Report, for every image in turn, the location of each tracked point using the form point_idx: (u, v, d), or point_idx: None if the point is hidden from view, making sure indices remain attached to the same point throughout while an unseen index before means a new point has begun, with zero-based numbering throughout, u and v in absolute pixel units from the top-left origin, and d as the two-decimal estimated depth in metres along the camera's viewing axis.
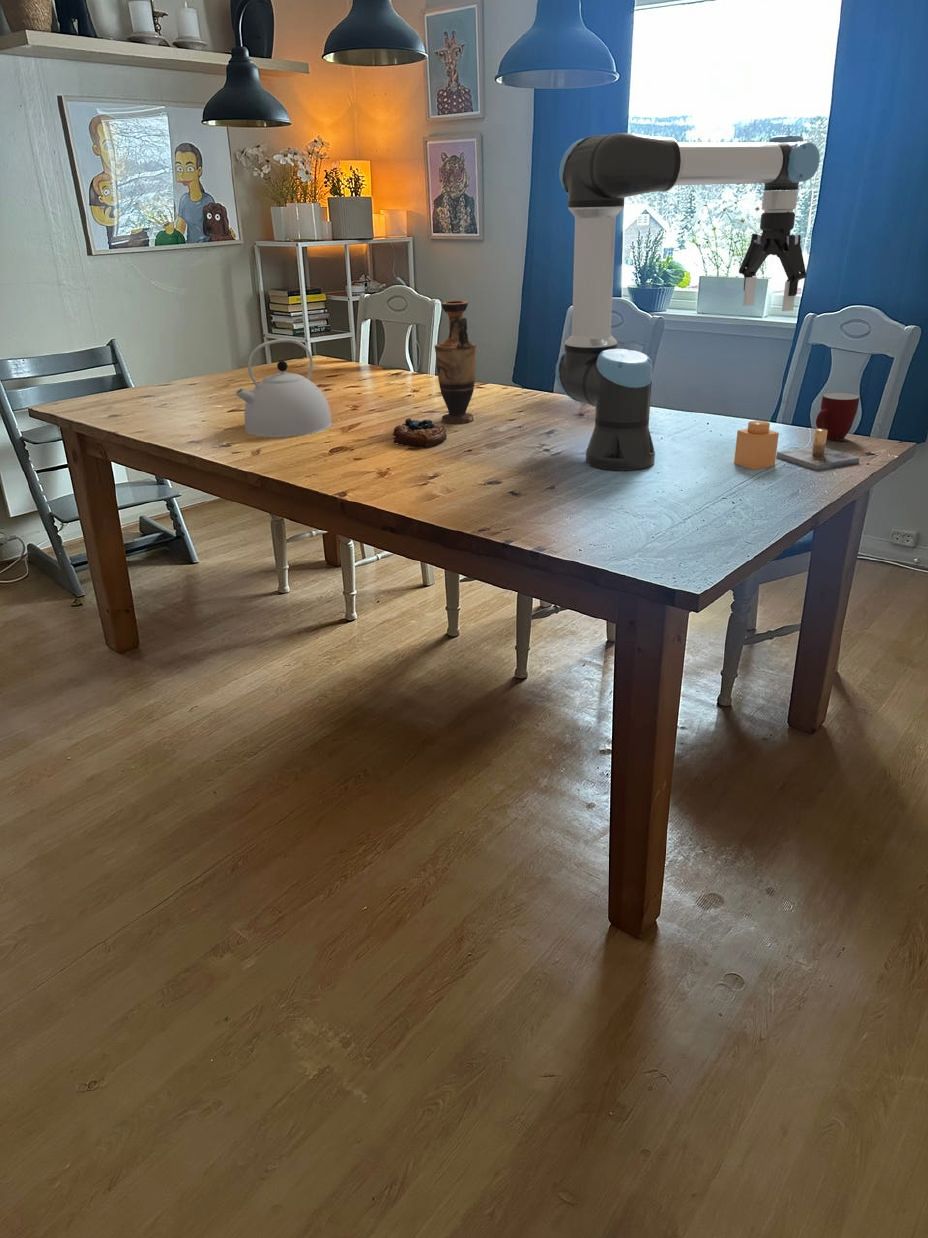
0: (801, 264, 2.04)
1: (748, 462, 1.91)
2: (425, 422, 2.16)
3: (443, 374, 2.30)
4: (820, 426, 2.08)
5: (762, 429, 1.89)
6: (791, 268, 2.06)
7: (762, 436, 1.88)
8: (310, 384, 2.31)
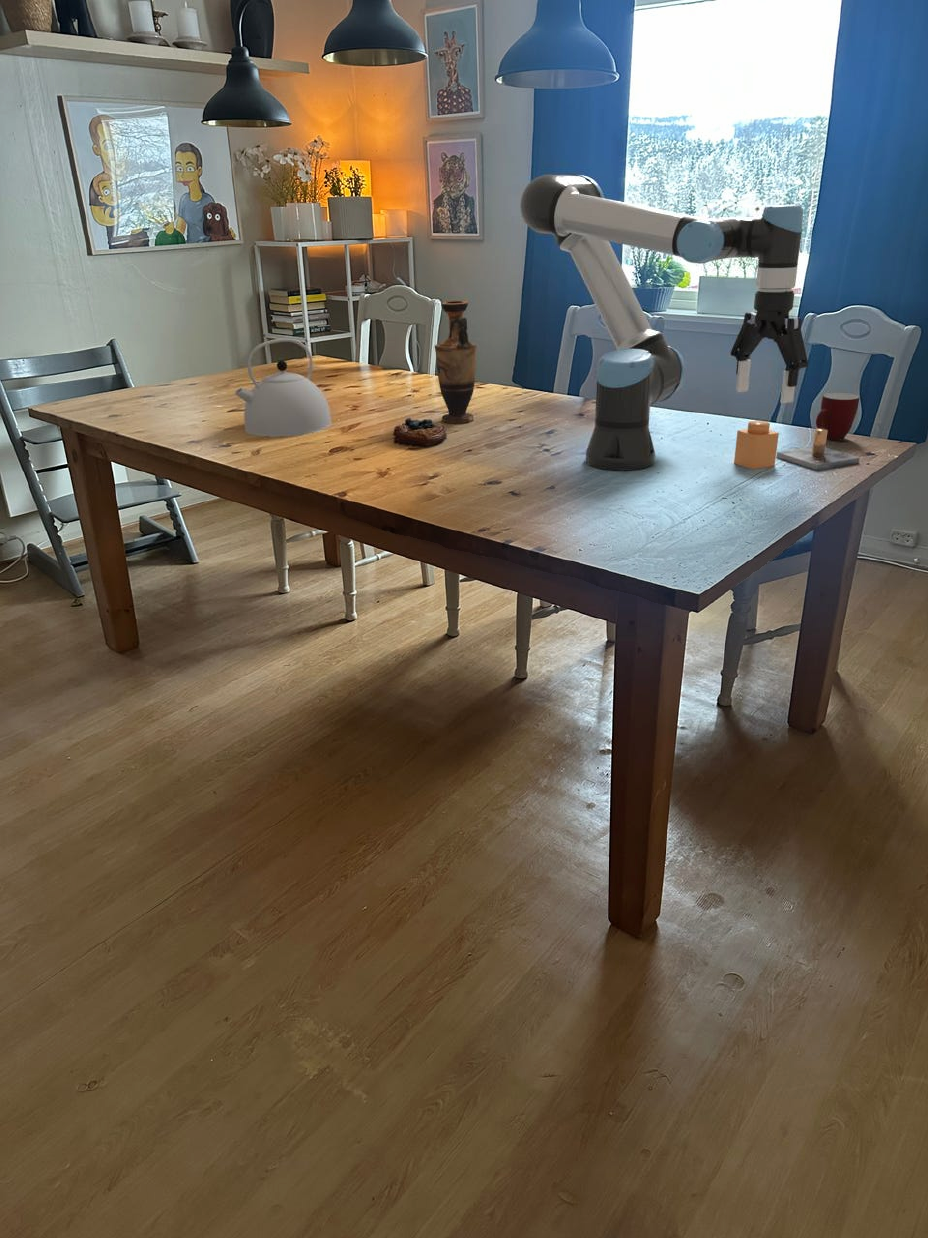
0: (801, 351, 1.76)
1: (748, 462, 1.91)
2: (425, 422, 2.16)
3: (443, 374, 2.30)
4: (820, 426, 2.08)
5: (762, 429, 1.89)
6: (790, 355, 1.78)
7: (762, 436, 1.88)
8: (309, 384, 2.31)
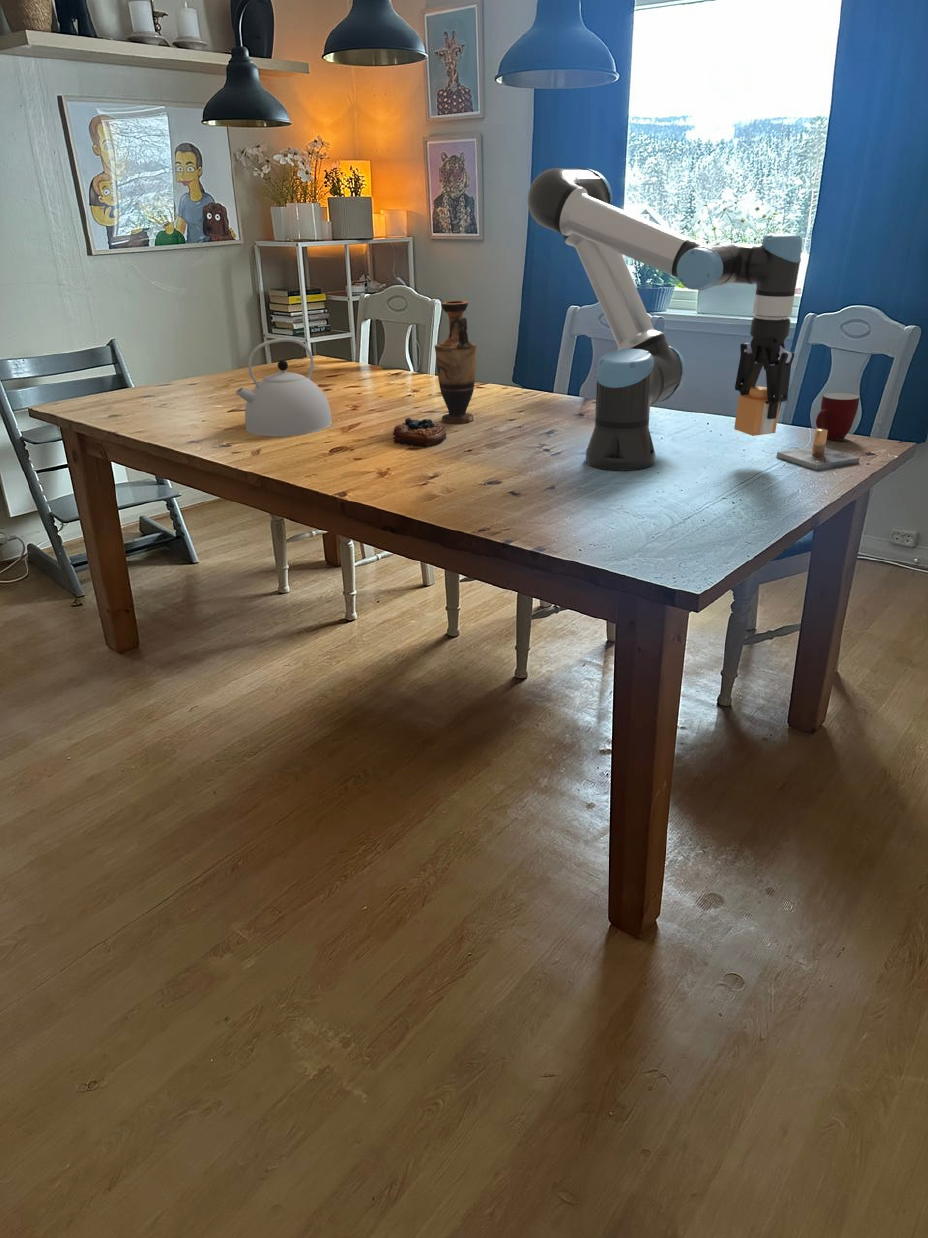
0: (785, 387, 1.82)
1: (749, 428, 1.89)
2: (425, 421, 2.17)
3: (443, 374, 2.30)
4: (820, 426, 2.08)
5: (764, 395, 1.86)
6: (774, 388, 1.84)
7: (764, 402, 1.86)
8: (310, 383, 2.32)
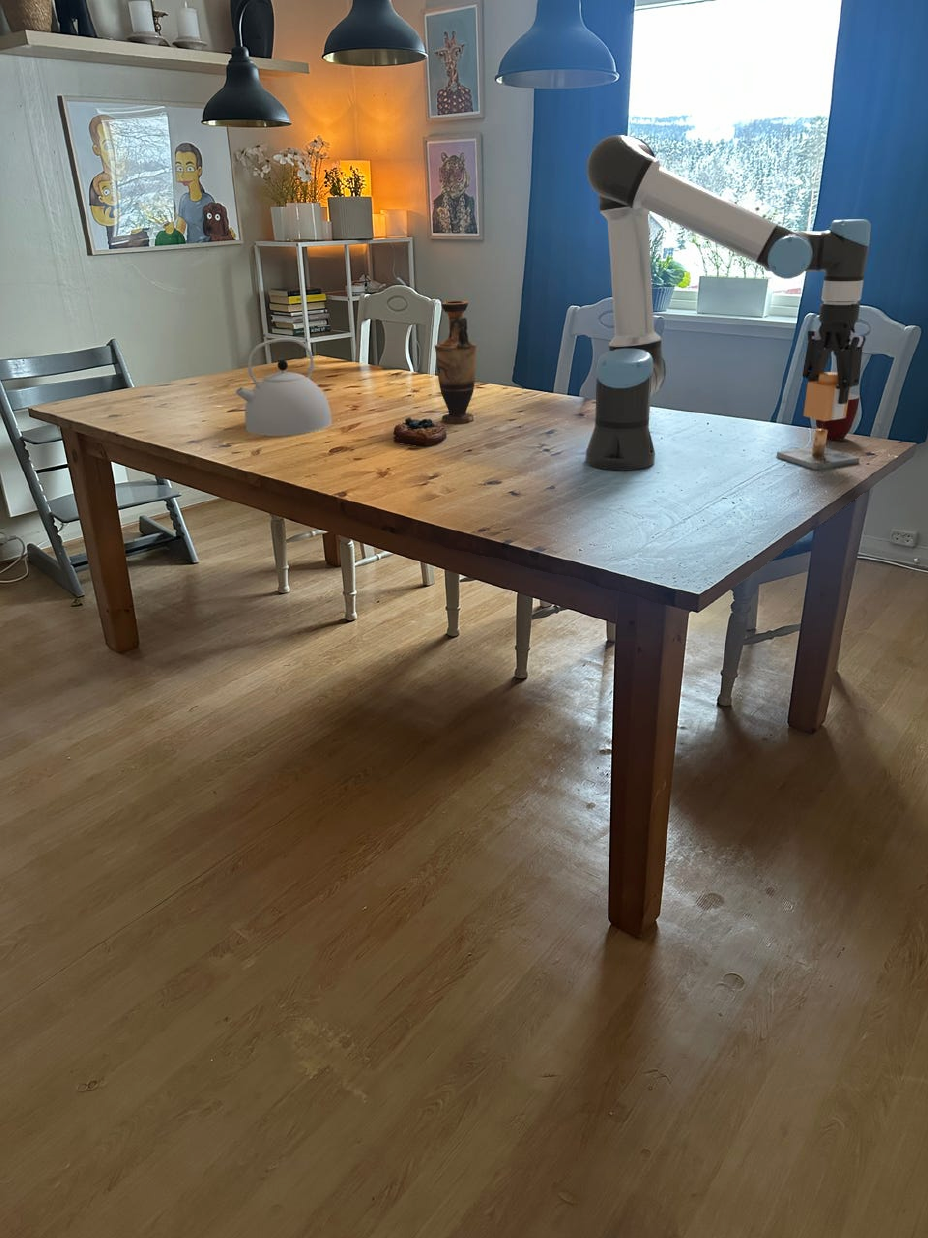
0: (856, 371, 1.82)
1: (820, 413, 1.89)
2: (425, 421, 2.17)
3: (443, 374, 2.30)
4: (820, 426, 2.08)
5: (834, 380, 1.87)
6: (845, 373, 1.84)
7: (834, 386, 1.86)
8: (310, 383, 2.32)
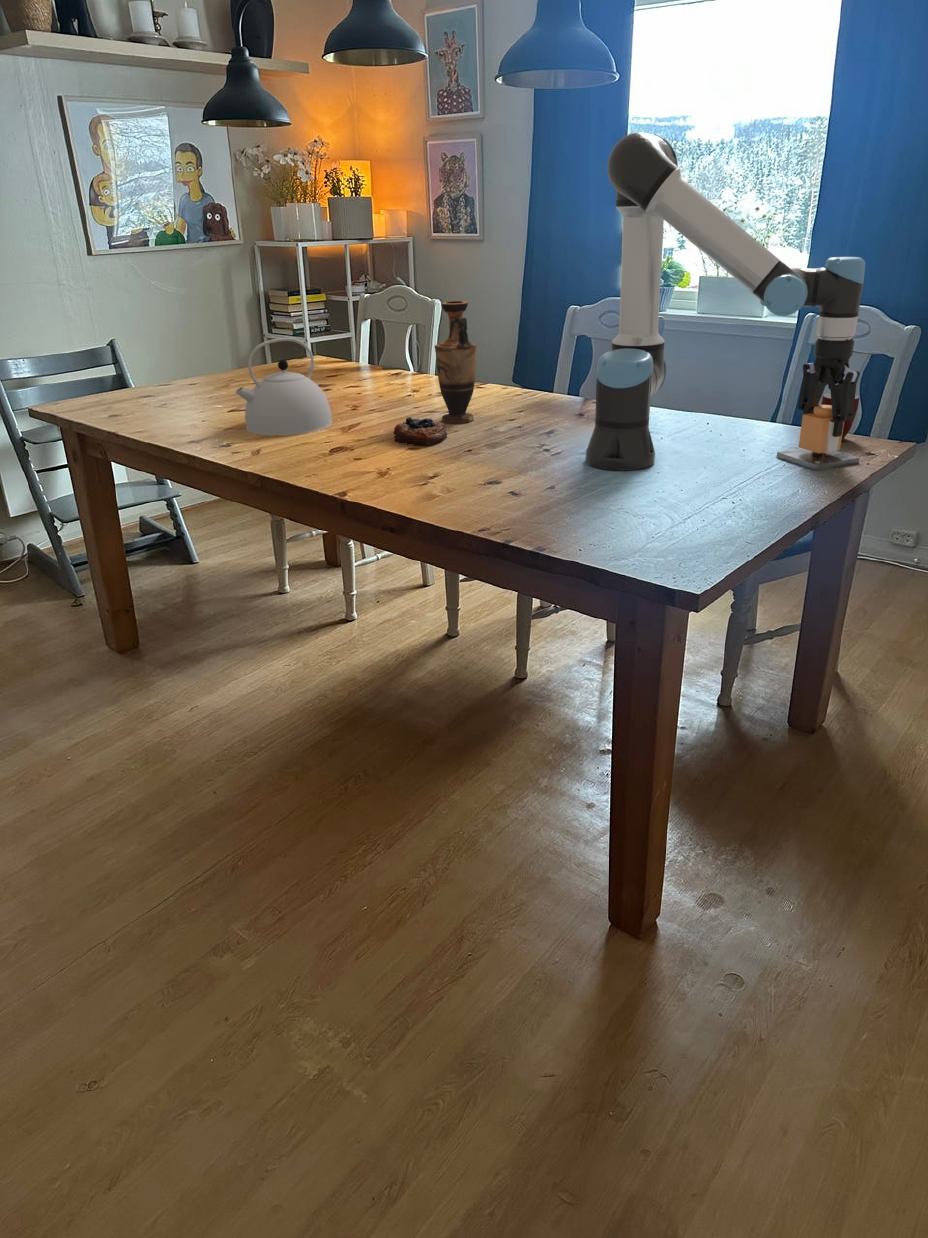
0: (850, 405, 1.85)
1: (814, 446, 1.92)
2: (425, 421, 2.17)
3: (443, 374, 2.30)
4: None
5: (829, 413, 1.90)
6: (839, 407, 1.87)
7: (829, 420, 1.89)
8: (310, 383, 2.32)
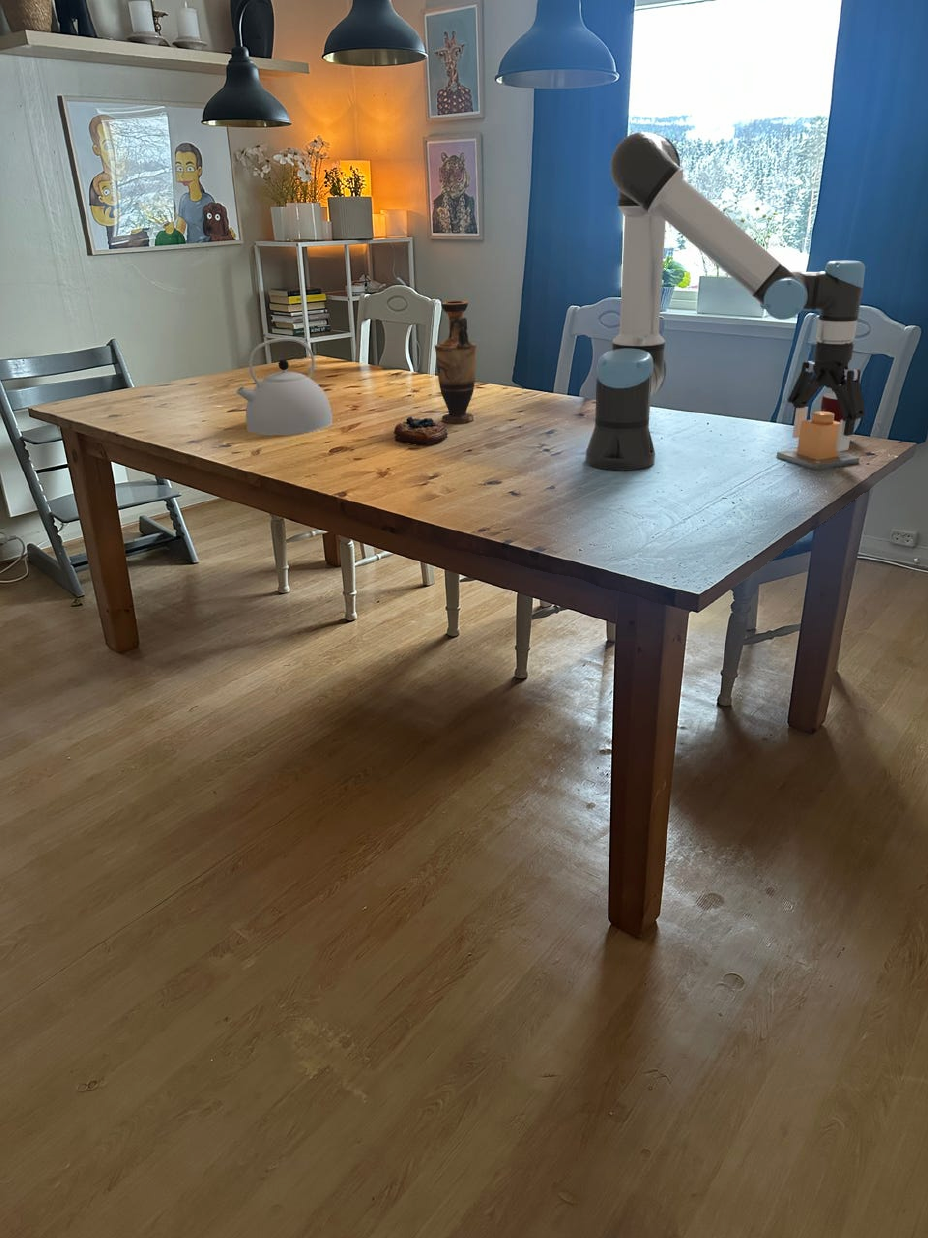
0: (859, 403, 1.83)
1: (813, 452, 1.93)
2: (426, 420, 2.17)
3: (443, 374, 2.30)
4: None
5: (827, 420, 1.90)
6: (848, 406, 1.85)
7: (827, 426, 1.90)
8: (311, 383, 2.32)
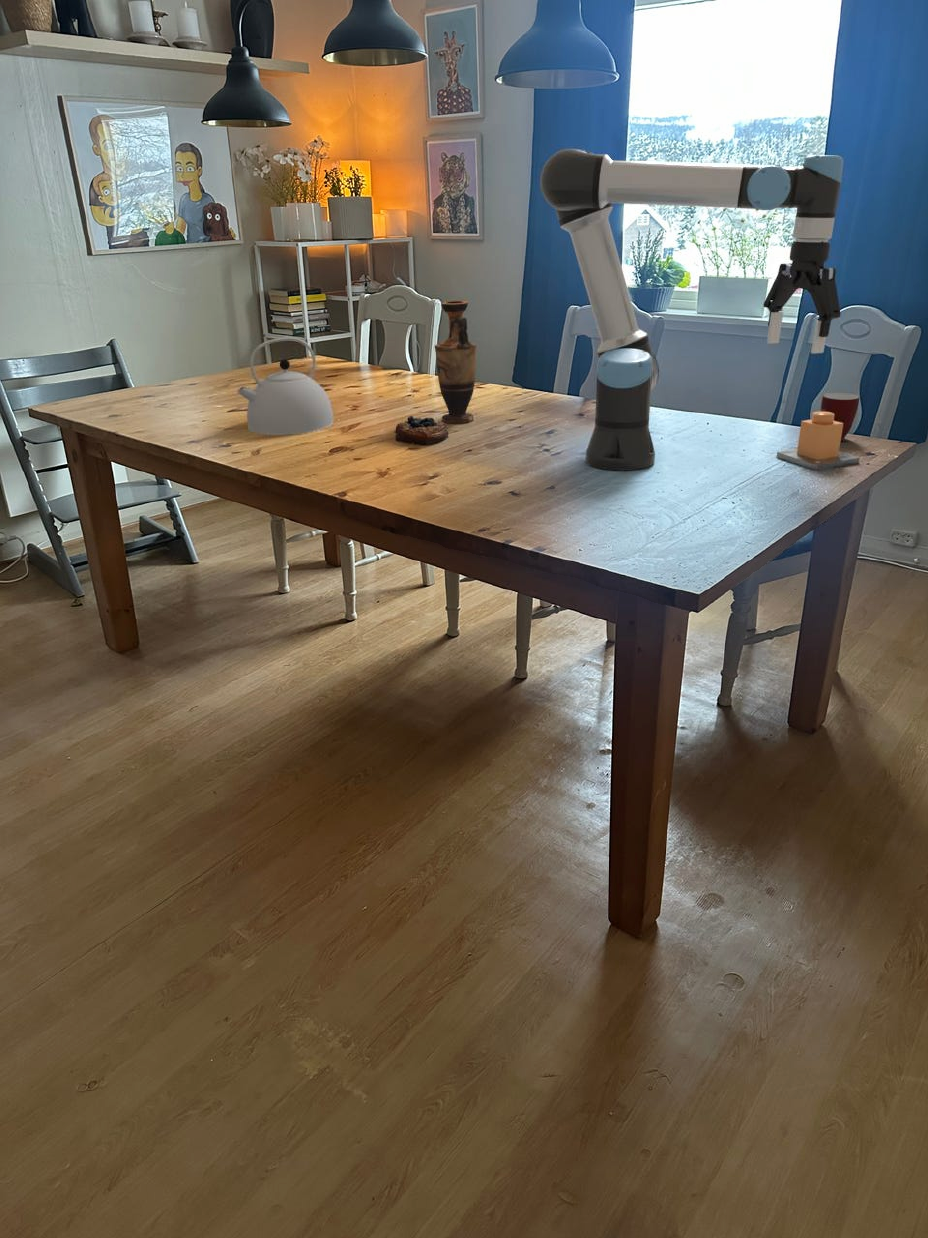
0: (835, 302, 1.80)
1: (813, 452, 1.93)
2: (426, 420, 2.18)
3: (443, 374, 2.30)
4: None
5: (827, 420, 1.90)
6: (823, 306, 1.82)
7: (827, 426, 1.90)
8: (312, 383, 2.33)
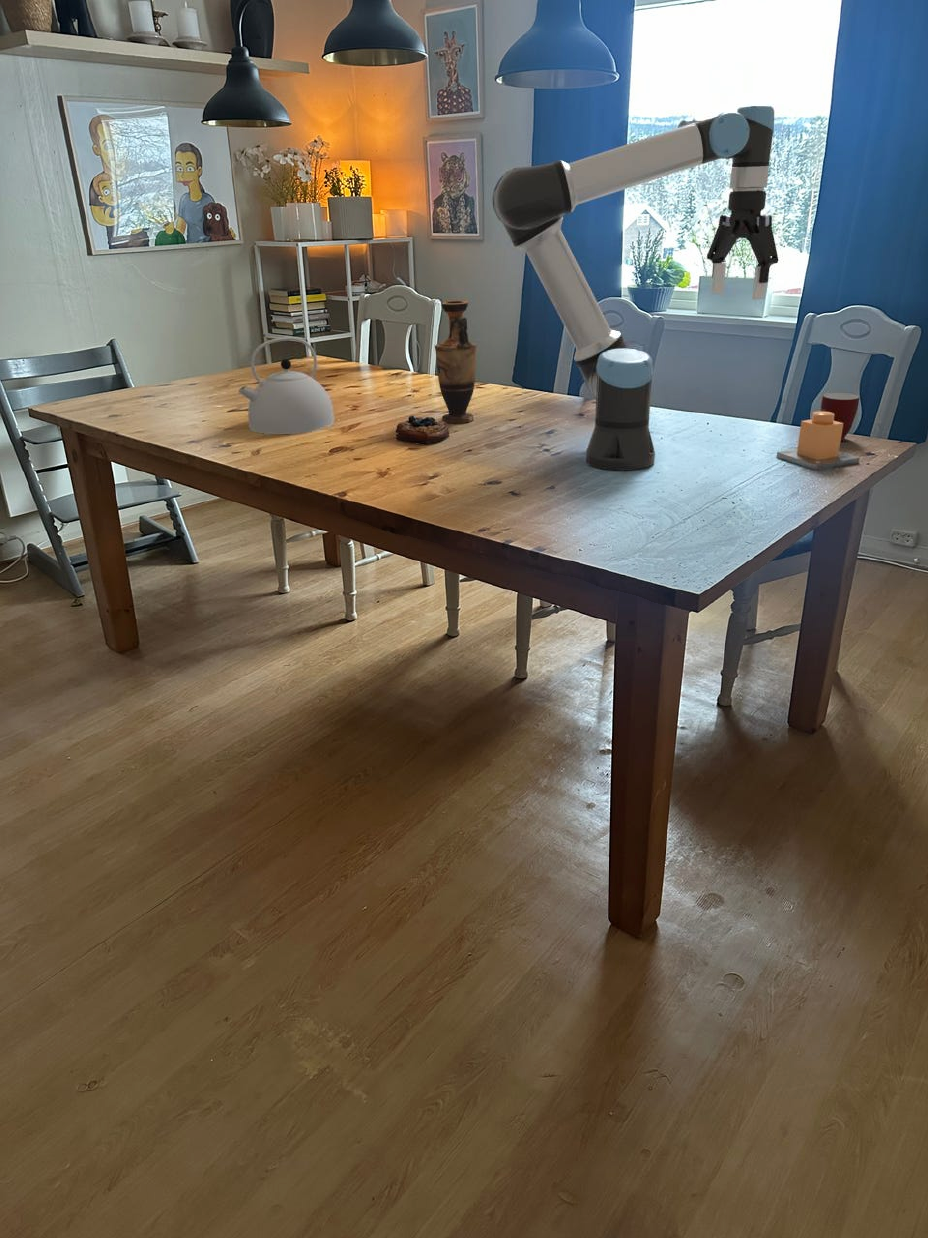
0: (772, 248, 1.86)
1: (813, 452, 1.93)
2: (427, 419, 2.18)
3: (443, 374, 2.30)
4: None
5: (827, 420, 1.90)
6: (762, 252, 1.88)
7: (827, 426, 1.90)
8: (313, 382, 2.33)
